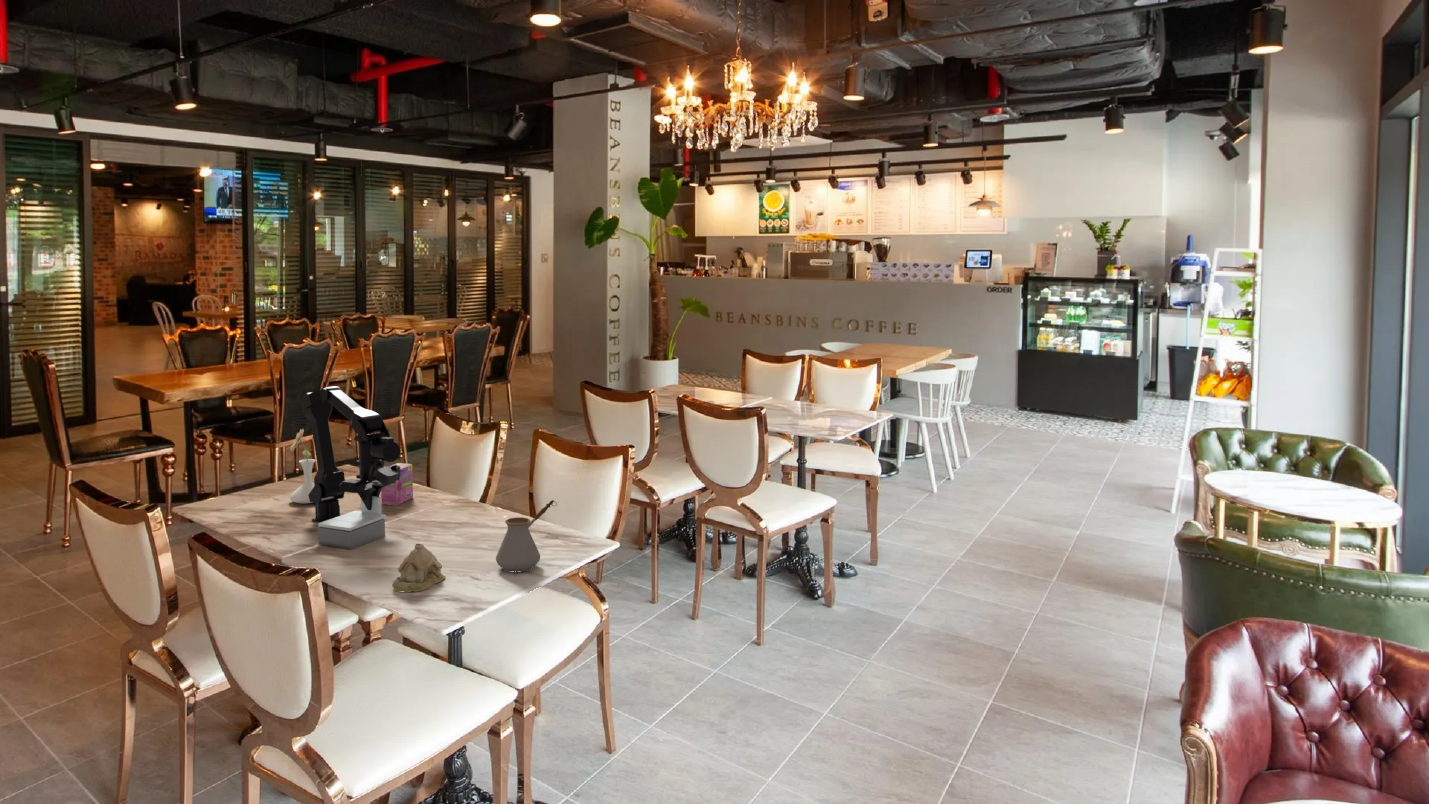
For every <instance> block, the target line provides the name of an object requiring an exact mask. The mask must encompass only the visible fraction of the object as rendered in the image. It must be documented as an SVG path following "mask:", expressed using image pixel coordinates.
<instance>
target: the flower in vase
mask: <svg viewBox="0 0 1429 804" xmlns="http://www.w3.org/2000/svg"><path fill="white" fill-rule="evenodd" d="M304 431H305V430H304V428H302V429H301V428H300V429H299V432H297V433H296V437H295V439H293V440H292V444H291V446H290V447H289V449H290V452H291V451H292V452H293V451H294V450H295V449H296V448H297V447H298V445H299V443H300V444H301V445H302V446H303V448H304V450H303V451H302V455H303V458H302V459H300V460H298V463H299V464H300V465H301V467H302V470H303V479H304V480H303V483H302V484H301V485H300V486H299V487H298V488H296V489H295V490H294V491H293V492H292V493H291V494H290V496H289V500H290V501H291V502H294V503H296V504H313V502H310V500H309V496H308V495H309V493H310V492H311V490H312V489H313V487H314V480H313V478H312V477H313V476H312V475H313V467H314V464H315V462H317V459H314V458H309V457H310V456H311V455H312V454H311V453H310V451H309V450H308V449H307V448H306V446H305V445H304V443H303V441H302V438H303V436H304Z"/></svg>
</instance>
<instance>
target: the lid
mask: <svg viewBox="0 0 1429 804" xmlns="http://www.w3.org/2000/svg"><path fill="white" fill-rule="evenodd" d="M360 501H361V502H360V503H361V504H360V507H361V510H352V511H350V512H346V513H344V514H340V516H338V517H335V518H332V519H329V520H327V521H324V522H318V523H317V527H326V528H333V529H339V530H346V531H351V530H354V529H357V528H359V527H362V526H365V525H367V524H370V523H373V522H375V521H378V520H381V519H385V518H387V514H382V504H381V496H379V497H377V496H372V508H371V510H367V508H366V506H365V504H364V503H363V501H362V499H361V498H360Z"/></svg>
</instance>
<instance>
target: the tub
mask: <svg viewBox="0 0 1429 804" xmlns="http://www.w3.org/2000/svg"><path fill="white" fill-rule="evenodd" d="M317 531H318V532H317V535H318V546H324V545H326V546H325V547H331V548H339V549H343V548H345V549H344V550H353V549H356V548H358V547H360V545H361V546H363V545H365V544H369V543H370V542H373V541H375V539H376V540H378V539H380V538H383V537H385V536H386V520H385V518H383V519H381V520H378V521H375V522H373V523H370V524H367V525H365V526H362V527H359V528H357V529H354V530H351V531H346V530H339V529H333V528H326V527H319V526H317Z"/></svg>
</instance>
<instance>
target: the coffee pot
mask: <svg viewBox="0 0 1429 804" xmlns="http://www.w3.org/2000/svg"><path fill="white" fill-rule="evenodd" d="M554 503H555V505H553V504H554ZM551 506H552V507H557V506H558V503H557V502H556V501H554V499H552V500H550V501H549V502H548V503H546V505H545V506H544V507H543V508H541V510H539V512H537V514H536V515H535V516H534V517H533V519H530V518H528V517H518V516H517V517H511V518H506V519H505V522H504V523H505V524H506V525H507V530H506V533H505V534H504V537H503V539H502V542H501V544H500V547H499V549H498V551H497V553H496V556H495V562H496V563H497V565H498V566H499V567H500V568H501V569H503V568H504V569H503V571H505V570H506V571H505V572H507V571H514V572H515V571H516V572H517V571H526V572H528V571H527V570H529V569H531V568H532V567H533V568H534V567H535V566H536V565H537V564H538V563H539V562H540V560H541V554H540V552H539V549H538V547H537V545H536V543H535V540H534V538H533V536H532V534H531V532H530V530H529V528H531V526H532V525H533V524H534V523H535V522H536V521H537V520H539V518H540V517H541V516H544V514H545V513H546V511H548V509H549V508H551ZM533 568H532V569H533ZM532 569H531V570H532ZM529 571H530V570H529ZM514 572H513V573H514Z"/></svg>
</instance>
